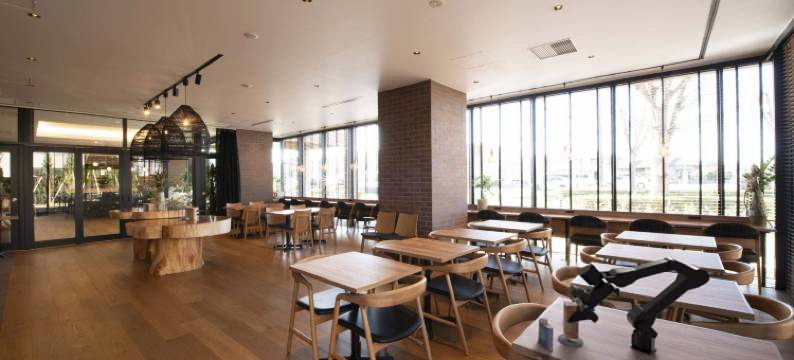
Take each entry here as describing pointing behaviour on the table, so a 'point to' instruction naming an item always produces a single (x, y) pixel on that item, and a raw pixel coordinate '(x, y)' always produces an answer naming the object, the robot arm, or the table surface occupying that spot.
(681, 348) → the table surface
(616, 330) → the table surface
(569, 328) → the walnut block
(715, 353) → the table surface
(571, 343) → the slate coaster
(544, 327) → the flask
